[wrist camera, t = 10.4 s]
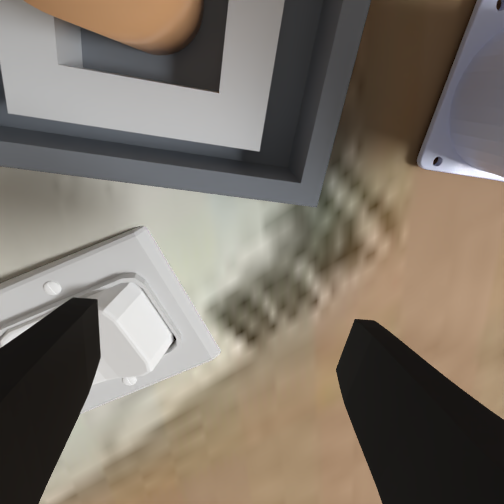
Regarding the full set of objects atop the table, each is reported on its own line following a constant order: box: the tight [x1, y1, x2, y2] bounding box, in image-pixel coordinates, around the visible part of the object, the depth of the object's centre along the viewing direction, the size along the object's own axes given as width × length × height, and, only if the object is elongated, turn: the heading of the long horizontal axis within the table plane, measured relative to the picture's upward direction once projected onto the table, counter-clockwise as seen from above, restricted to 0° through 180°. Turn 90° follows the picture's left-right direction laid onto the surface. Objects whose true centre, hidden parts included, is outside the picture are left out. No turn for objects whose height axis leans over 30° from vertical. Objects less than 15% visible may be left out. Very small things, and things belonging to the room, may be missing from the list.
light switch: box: [0, 226, 221, 414], centre depth 21 cm, size 11×4×13 cm
